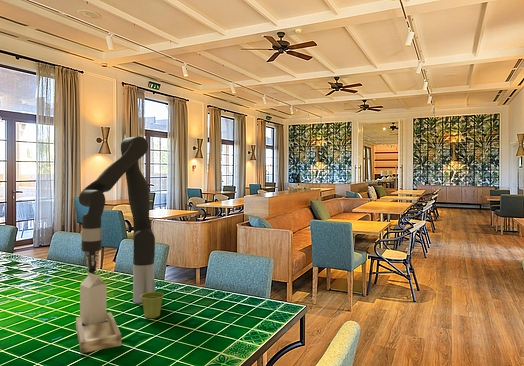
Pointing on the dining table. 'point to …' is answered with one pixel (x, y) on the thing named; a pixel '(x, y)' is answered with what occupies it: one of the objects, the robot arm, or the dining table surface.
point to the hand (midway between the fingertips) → (91, 281)
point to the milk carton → (93, 300)
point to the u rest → (98, 335)
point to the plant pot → (152, 304)
